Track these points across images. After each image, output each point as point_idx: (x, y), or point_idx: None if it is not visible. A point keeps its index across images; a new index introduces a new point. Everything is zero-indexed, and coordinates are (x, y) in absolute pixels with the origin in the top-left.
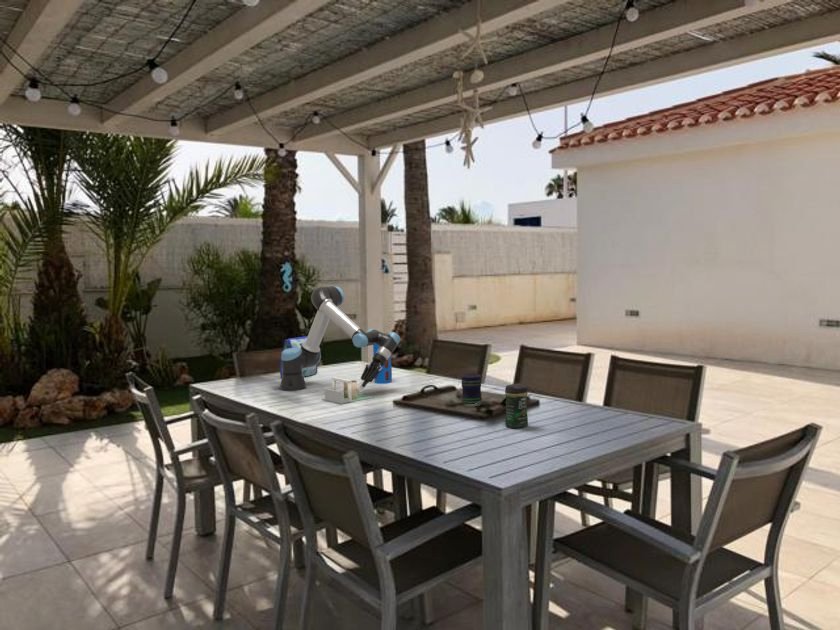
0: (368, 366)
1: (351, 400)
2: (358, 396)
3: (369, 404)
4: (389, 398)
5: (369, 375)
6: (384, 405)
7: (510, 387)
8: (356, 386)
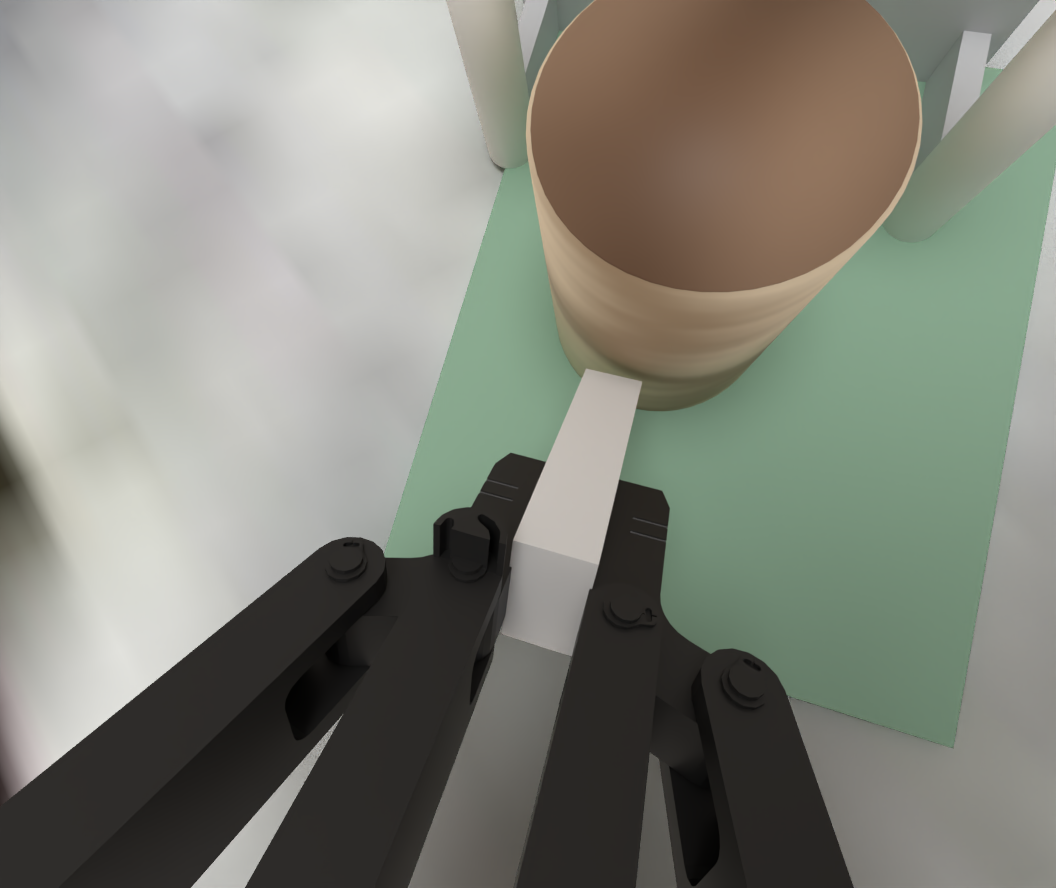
0: None
1: (485, 140)
2: None
3: (210, 187)
4: (155, 622)
5: (336, 734)
6: (20, 231)
7: None
8: (553, 269)
